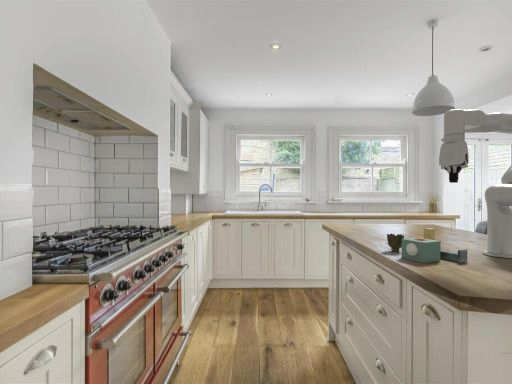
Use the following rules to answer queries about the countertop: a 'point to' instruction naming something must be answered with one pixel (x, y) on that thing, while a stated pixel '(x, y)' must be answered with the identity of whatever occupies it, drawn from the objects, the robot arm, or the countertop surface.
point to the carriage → (429, 233)
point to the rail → (454, 256)
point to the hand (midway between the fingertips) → (453, 182)
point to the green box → (421, 250)
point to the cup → (395, 241)
